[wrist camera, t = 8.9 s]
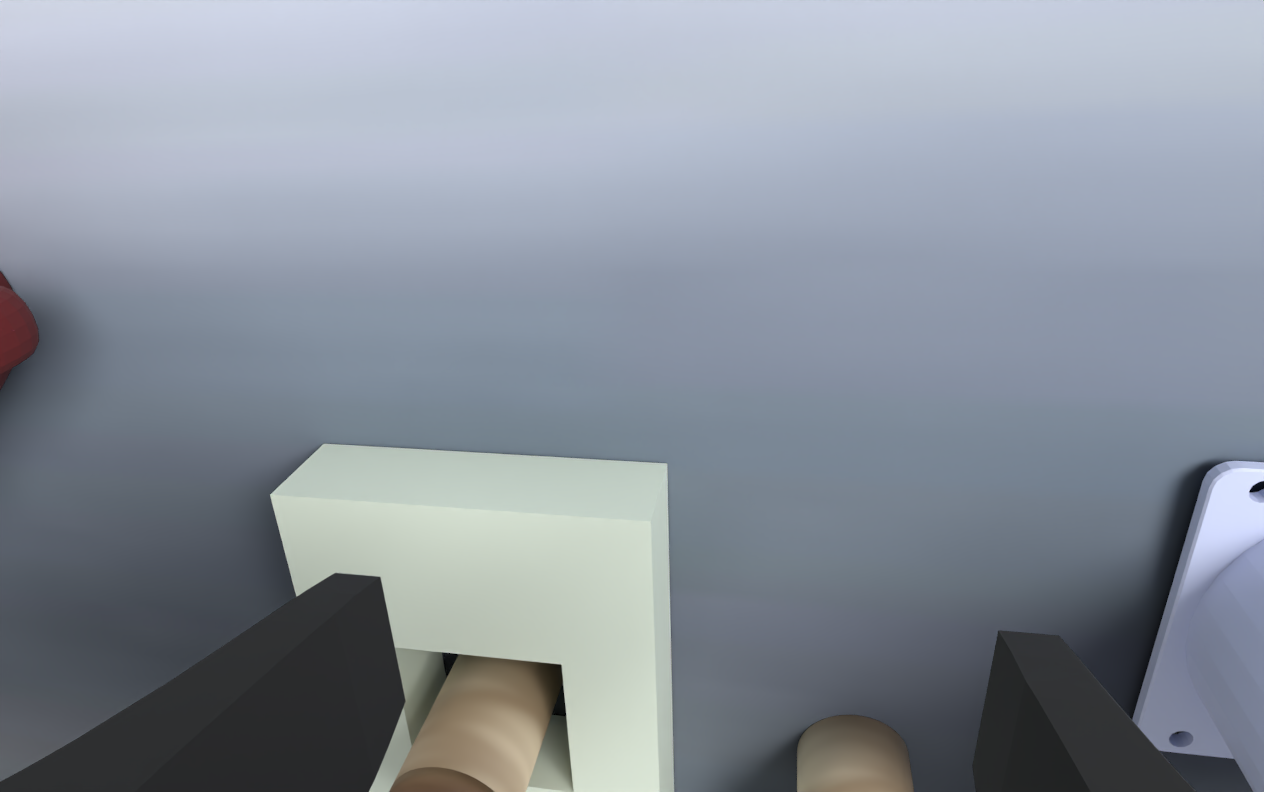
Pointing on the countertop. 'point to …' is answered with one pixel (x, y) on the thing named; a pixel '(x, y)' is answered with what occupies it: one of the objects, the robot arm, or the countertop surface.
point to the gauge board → (508, 588)
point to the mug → (14, 330)
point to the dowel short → (852, 757)
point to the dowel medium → (483, 727)
